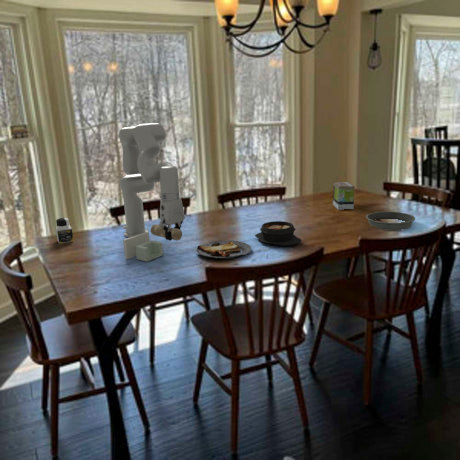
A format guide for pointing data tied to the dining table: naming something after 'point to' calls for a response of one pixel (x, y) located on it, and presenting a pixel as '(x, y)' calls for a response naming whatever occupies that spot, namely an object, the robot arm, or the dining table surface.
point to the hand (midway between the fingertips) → (173, 237)
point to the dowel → (160, 232)
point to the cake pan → (390, 215)
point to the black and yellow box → (64, 231)
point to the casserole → (278, 233)
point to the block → (149, 250)
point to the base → (134, 244)
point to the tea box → (343, 195)
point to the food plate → (223, 249)
